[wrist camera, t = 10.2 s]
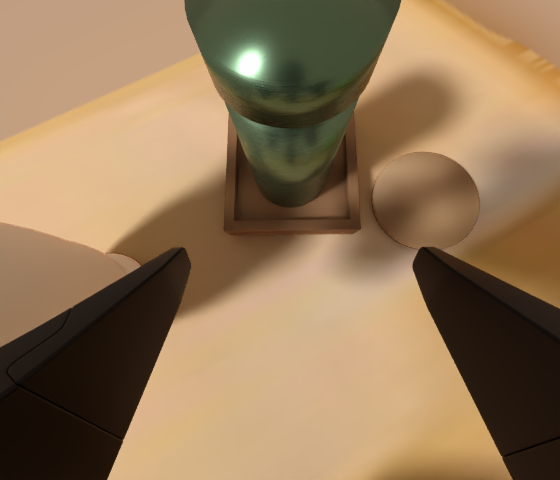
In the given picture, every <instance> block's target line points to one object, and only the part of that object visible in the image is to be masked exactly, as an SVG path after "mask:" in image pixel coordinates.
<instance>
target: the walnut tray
mask: <svg viewBox="0 0 560 480" xmlns="http://www.w3.org/2000/svg"><path fill="white" fill-rule="evenodd" d="M360 229H361V225H360V208H359V191H358V174H357V156H356V139H355V122H354V111H353V114H352V116H351V119H350V122H349V124H348V127H347V129H346V132H345V134H344V137H343V139H342V142H341V145H340V147H339V150H338V152H337V155H336V157H335V160H334V162H333V165H332V168H331V170H330V173H329V175H328V178H327V180H326V183H325V185H324V188H323V190H322V191H321V193H320V194H319V195H318V196H317V197H316V198H315V199H314V200H313V201H311V202H310V203H308V204H306V205H303V206H300V207H294V208H287V207H282V206H278V205H276V204H274V203H272V202H270V201H269V200H267V199H266V198H265V197H264V196H263V194H262V193H261V192H260V190H259V188H258V186H257V183H256V181H255V178H254V175H253V173H252V170H251V168H250V165H249V163H248V160H247V158H246V155H245V152H244V150H243V147H242V145H241V142H240V140H239V137H238V134H237V132H236V129H235V127H234V124H233V122H232V119H231V117H230V114H229V120H228V144H227V168H226V191H225V215H224V231H226V232H227V233H229V234H231V235H291V234H354V233H355V232H357V231H358V230H360Z"/></svg>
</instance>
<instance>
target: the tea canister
mask: <svg viewBox="0 0 560 480" xmlns="http://www.w3.org/2000/svg"><path fill="white" fill-rule="evenodd" d="M400 3H401V0H185V11H186V15H187V20H188V22H189V25H190V27H191V30H192V32H193V34H194V37H195V40H196V42H197V44H198V47H199V49H200V52H201V54H202V57H203V59H204V61H205V64H206V66H207V69H208V71H209V74H210V76H211V78H212V81H213V83H214V86H215V88H216V90H217V91H218V93H219V95H220V96H221V97H222V99H223V100H224V101H225V104H226V106H227V109H228V111H229V114H230V117H231V119H232V122H233V124H234V127H235V129H236V132H237V134H238V137H239V140H240V142H241V145H242V147H243V150H244V152H245V155H246V158H247V160H248V163H249V165H250V168H251V170H252V173H253V175H254V178H255V181H256V183H257V186H258V188H259V190H260V192H261V193H262V194H263V196H264V197H265V198H266V199H267V200H269V201H270V202H272V203H274V204H276V205H278V206H282V207H287V208H294V207H300V206H303V205H306V204H308V203H310V202H311V201H313V200H314V199H315V198H316V197H317V196H318V195H319V194H320V193H321V191H322V190H323V188H324V185H325V183H326V180H327V178H328V175H329V173H330V170H331V168H332V165H333V162H334V160H335V157H336V155H337V152H338V150H339V147H340V145H341V142H342V139H343V137H344V134H345V132H346V129H347V127H348V124H349V122H350V119H351V116H352V114H353V111H354V109H355V106H356V104H357V101H358V98H359V96H360V95H361V94H362V92H363V91H364V89H365V88H366V86H367V84H368V83H369V80H370V78H371V76H372V73H373V71H374V68H375V66H376V64H377V61H378V59H379V56H380V54H381V51H382V49H383V47H384V44H385V42H386V39H387V37H388V34H389V32H390V30H391V27H392V25H393V22H394V20H395V17H396V15H397V13H398V10H399V7H400Z"/></svg>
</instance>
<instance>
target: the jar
mask: <svg viewBox="0 0 560 480" xmlns="http://www.w3.org/2000/svg"><path fill="white" fill-rule="evenodd" d="M139 267H141V265H140V264H139V263H137V262H136V261H135V260H133V259H132V258H130V257H128V256H125V255H121V254H114V253H109V254H104V253H102V252H100V251H98V250H96V249H94V248H91V247H89V246H86V245H83V244H79V243H76V242H72V241H68V240H64V239H62V238H59V237H56V236H53V235H50V234H46V233H43V232H40V231H36V230H32V229H28V228H24V227H20V226H16V225H11V224H6V223H1V222H0V347H1V346H3V345H5V344H7V343H9V342H11V341H12V340H14V339H16V338H18V337H20V336H22V335H24V334H25V333H27V332H29V331H31V330H33V329H35V328H36V327H38V326H40V325H42V324H43V323H45V322H47V321H49V320H50V319H52V318H54V317H55V316H57V315H59V314H61V313H62V312H64V311H66V310H67V309H69V308H73V306H74V305H76V304H78V303H79V302H81V301H83V300H85V299H86V298H88V297H90V296H91V295H93V294H95V293H96V292H98V291H100V290H102V289H103V288H105V287H107V286H108V285H110V284H112V283H113V282H115V281H117V280H119V279H120V278H122V277H124V276H125V275H127V274H129V273H130V272H132V271H134V270H136V269H137V268H139Z"/></svg>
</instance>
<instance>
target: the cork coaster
mask: <svg viewBox="0 0 560 480" xmlns="http://www.w3.org/2000/svg"><path fill="white" fill-rule="evenodd" d="M372 206H373V211H374V214H375V216H376V219H377V221H378V222H379V224H380V226H381V227H382V228H383V230H384V231H385V232H386V233H387V234H388V235H389V236H391V237H392V238H393V239H394V240H396V241H397V242H399V243H401V244H403V245H405V246H408V247H411V248H414V249H420V248H421V247H436V248H438V249H441V248H446V247H449V246H452V245H454V244H456V243H458V242H459V241H461V240H462V239H463V238H465V237H466V236H467V235H468V234H469V232H470V231H471V230H472V228H473V227H474V225H475V223H476V221H477V218H478V214H479V208H480V203H479V195H478V191H477V188H476V186H475V184H474V182H473V180H472V178H471V177H470V175H469V174H468V173H467V172H466V171H465V170H464V169H463V168H462V167H461V166H460V165H459V164H457V163H456V162H455V161H453V160H451V159H449V158H447V157H445V156H443V155H439V154H436V153H430V152H415V153H409V154H406V155H403V156H401V157H398V158H397V159H395V160H393V161H392V162H391V163H389V164H388V165H387V166H386V167H385V168H384V169H383V171H382V172H381V173H380V174H379V176H378V177H377V179H376V181H375V184H374V187H373V191H372Z"/></svg>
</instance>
